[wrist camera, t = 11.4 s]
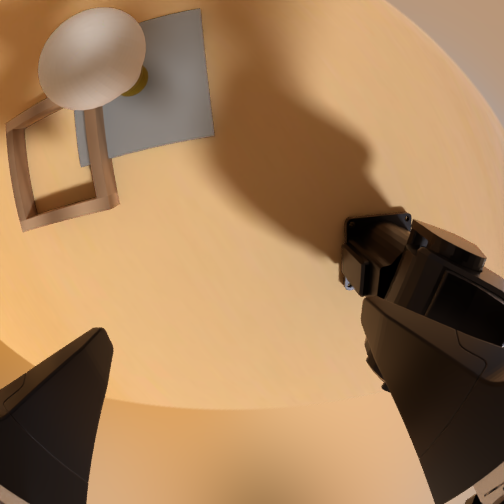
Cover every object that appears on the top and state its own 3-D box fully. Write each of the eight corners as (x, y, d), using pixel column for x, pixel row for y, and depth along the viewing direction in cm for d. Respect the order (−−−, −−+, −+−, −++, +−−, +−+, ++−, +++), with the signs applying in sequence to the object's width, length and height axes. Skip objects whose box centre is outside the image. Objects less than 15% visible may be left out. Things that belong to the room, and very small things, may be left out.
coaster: (200, 11, 14) (199, 8, 13) (214, 135, 18) (214, 135, 18) (76, 50, 14) (73, 49, 13) (83, 166, 18) (80, 167, 17)
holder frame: (103, 80, 15) (93, 75, 14) (119, 204, 19) (110, 209, 18) (17, 123, 15) (5, 123, 14) (33, 226, 19) (22, 232, 18)
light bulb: (88, 99, 15) (1, 84, 6) (132, 38, 14) (68, -17, 5) (141, 133, 17) (63, 127, 8) (189, 67, 15) (150, 5, 6)
